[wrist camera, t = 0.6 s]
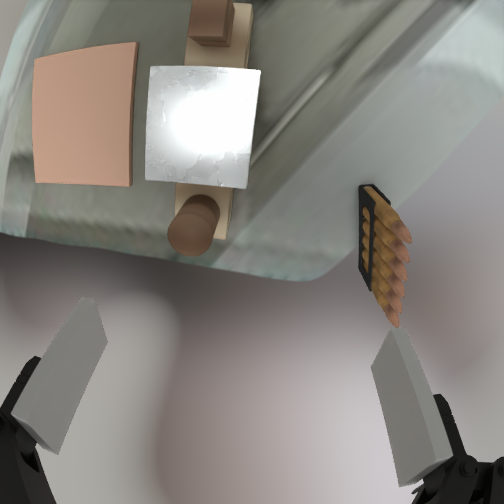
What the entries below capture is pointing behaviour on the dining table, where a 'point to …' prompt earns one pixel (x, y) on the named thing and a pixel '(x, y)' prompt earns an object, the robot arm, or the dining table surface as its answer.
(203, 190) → the wooden peg stand
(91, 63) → the mat
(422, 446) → the robot arm
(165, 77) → the brushed metal block
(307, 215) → the dining table surface
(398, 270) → the ammunition clip
